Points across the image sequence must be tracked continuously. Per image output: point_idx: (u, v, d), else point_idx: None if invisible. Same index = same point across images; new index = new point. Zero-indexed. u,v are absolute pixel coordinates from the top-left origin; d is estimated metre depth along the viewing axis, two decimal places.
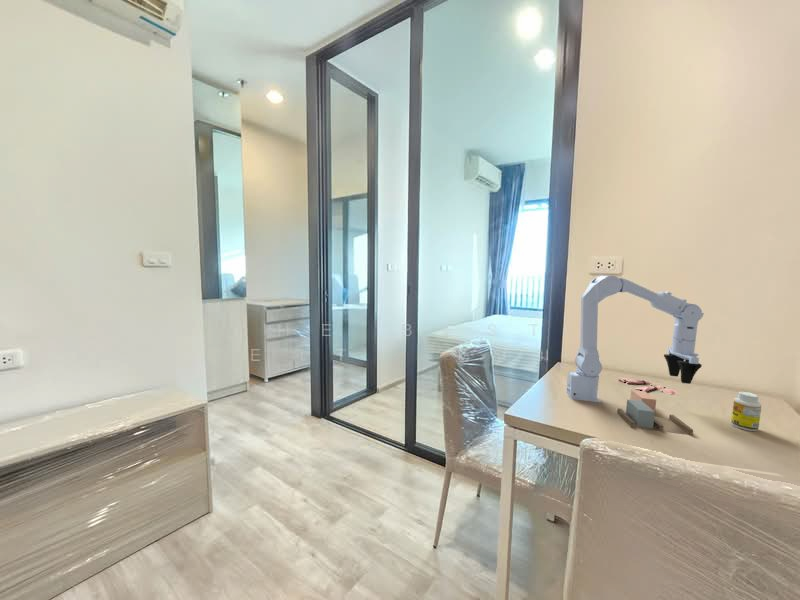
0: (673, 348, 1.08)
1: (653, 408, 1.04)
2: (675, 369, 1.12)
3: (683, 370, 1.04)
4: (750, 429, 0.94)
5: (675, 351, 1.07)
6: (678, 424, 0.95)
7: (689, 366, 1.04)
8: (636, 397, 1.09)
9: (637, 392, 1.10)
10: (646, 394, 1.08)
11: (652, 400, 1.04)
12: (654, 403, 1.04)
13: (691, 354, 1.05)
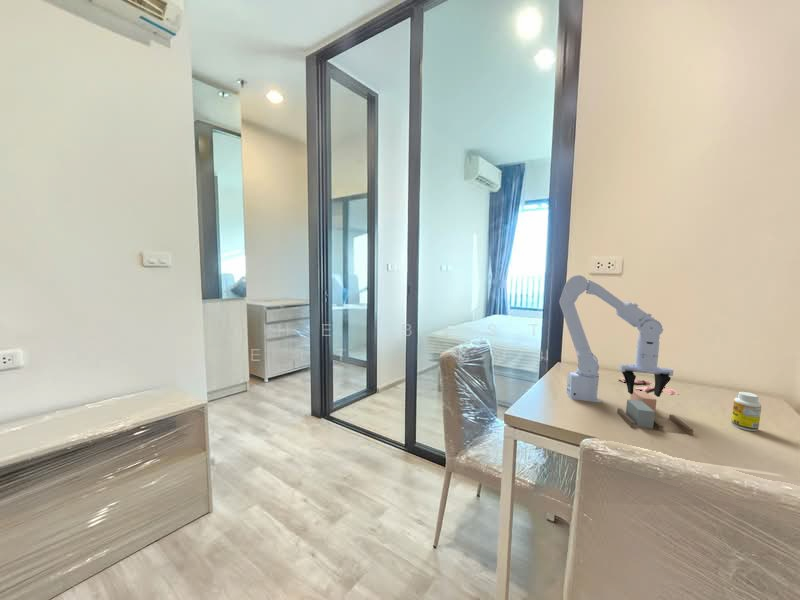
0: None
1: (653, 408, 1.04)
2: (657, 389, 1.07)
3: (625, 378, 1.11)
4: (750, 429, 0.94)
5: None
6: (678, 424, 0.95)
7: None
8: (636, 397, 1.09)
9: (637, 392, 1.10)
10: (646, 394, 1.08)
11: (652, 400, 1.04)
12: (654, 403, 1.04)
13: (638, 367, 1.07)
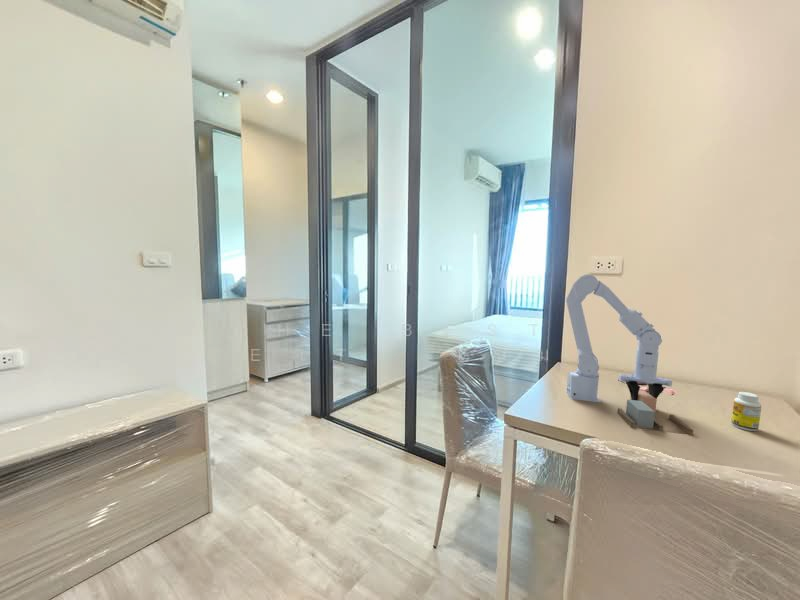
0: None
1: (653, 408, 1.04)
2: None
3: None
4: (750, 429, 0.94)
5: None
6: (678, 424, 0.95)
7: None
8: None
9: None
10: (646, 394, 1.08)
11: (652, 400, 1.04)
12: (654, 403, 1.04)
13: (637, 377, 1.07)
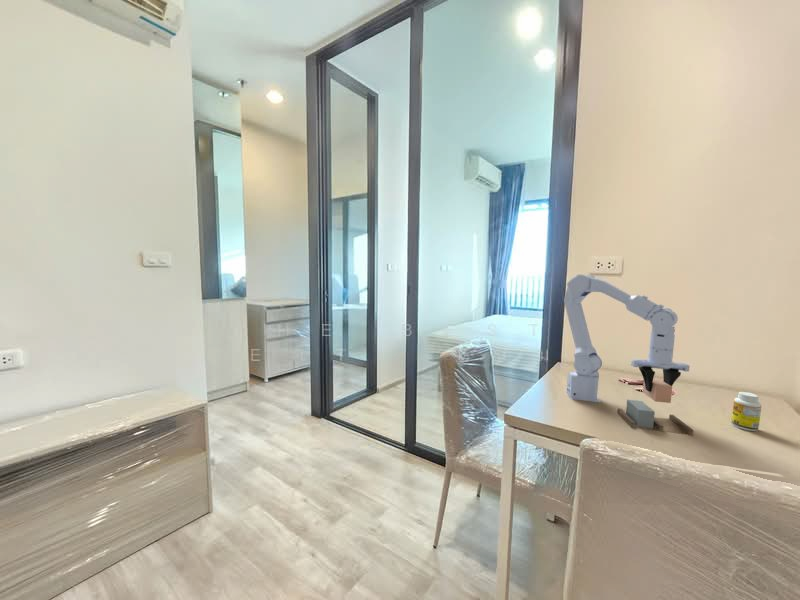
0: None
1: (669, 396, 0.97)
2: None
3: (642, 374, 1.03)
4: (750, 429, 0.94)
5: None
6: (678, 424, 0.95)
7: None
8: None
9: None
10: (660, 381, 1.01)
11: (668, 387, 0.97)
12: (670, 390, 0.97)
13: (651, 362, 1.00)
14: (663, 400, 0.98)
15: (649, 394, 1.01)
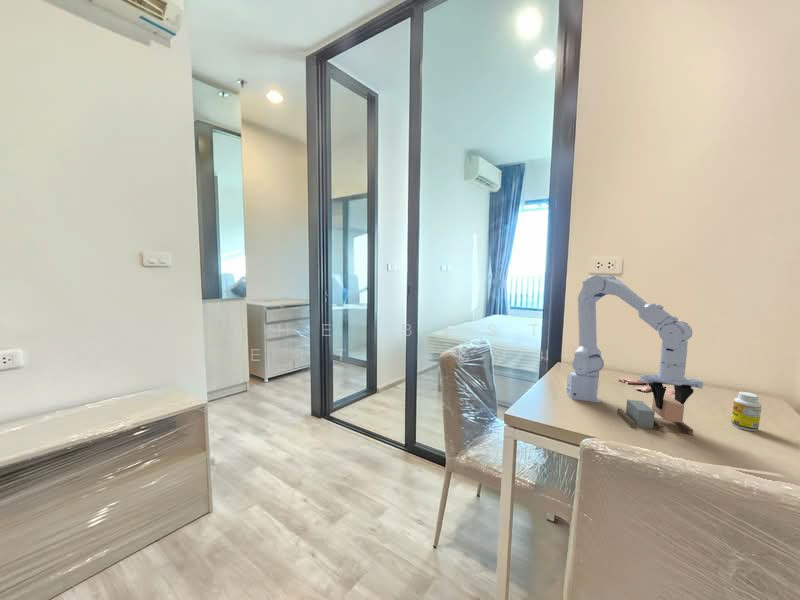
0: None
1: (680, 415, 0.92)
2: None
3: (652, 391, 0.98)
4: (750, 429, 0.94)
5: None
6: (678, 424, 0.95)
7: None
8: None
9: None
10: (671, 399, 0.96)
11: (679, 406, 0.92)
12: (682, 409, 0.91)
13: (662, 378, 0.94)
14: (674, 419, 0.92)
15: (659, 413, 0.96)
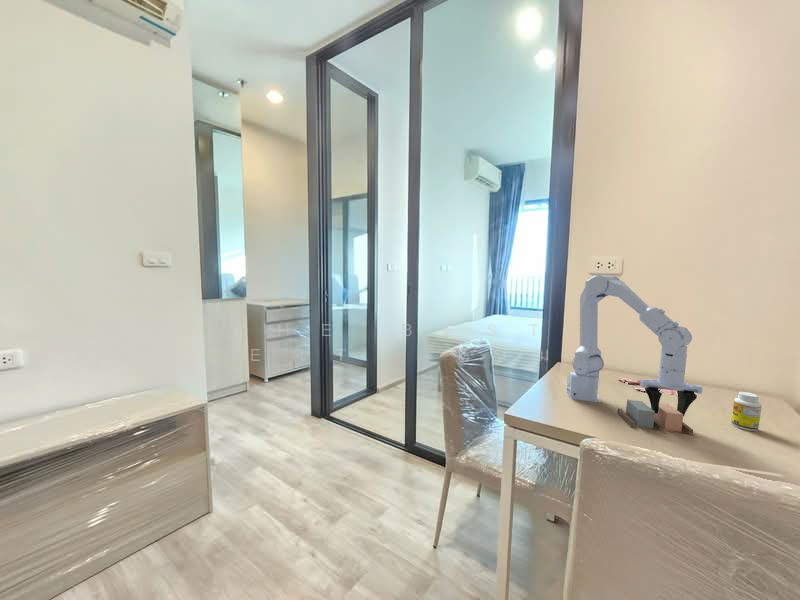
0: None
1: (680, 424, 0.92)
2: (680, 407, 0.94)
3: (648, 395, 0.98)
4: (750, 429, 0.94)
5: None
6: None
7: None
8: (659, 411, 0.96)
9: (660, 405, 0.97)
10: (670, 408, 0.96)
11: (678, 415, 0.92)
12: (681, 418, 0.92)
13: (662, 383, 0.94)
14: (673, 428, 0.92)
15: (659, 421, 0.96)
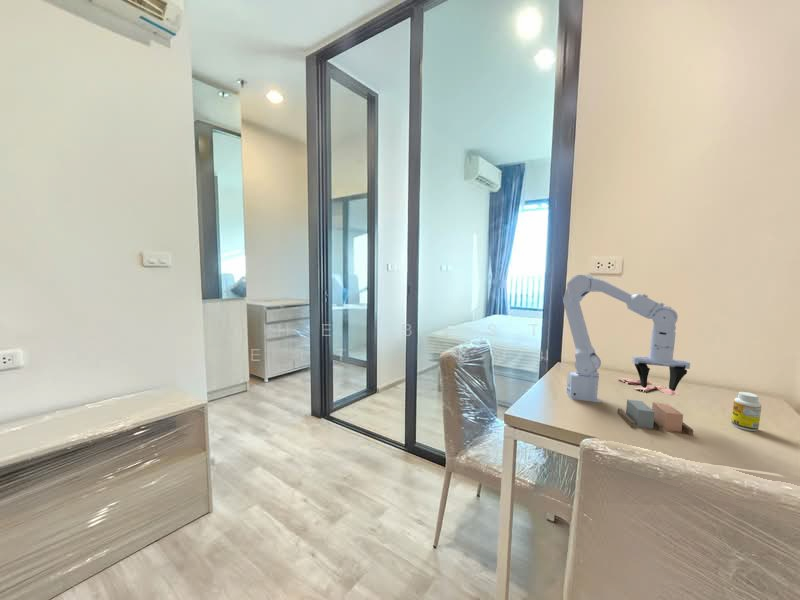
0: None
1: (680, 424, 0.92)
2: (672, 382, 1.01)
3: None
4: (750, 429, 0.94)
5: None
6: None
7: None
8: (659, 411, 0.96)
9: (660, 405, 0.97)
10: (670, 408, 0.96)
11: (678, 415, 0.92)
12: (681, 418, 0.92)
13: (652, 359, 1.01)
14: (673, 428, 0.92)
15: (659, 421, 0.96)
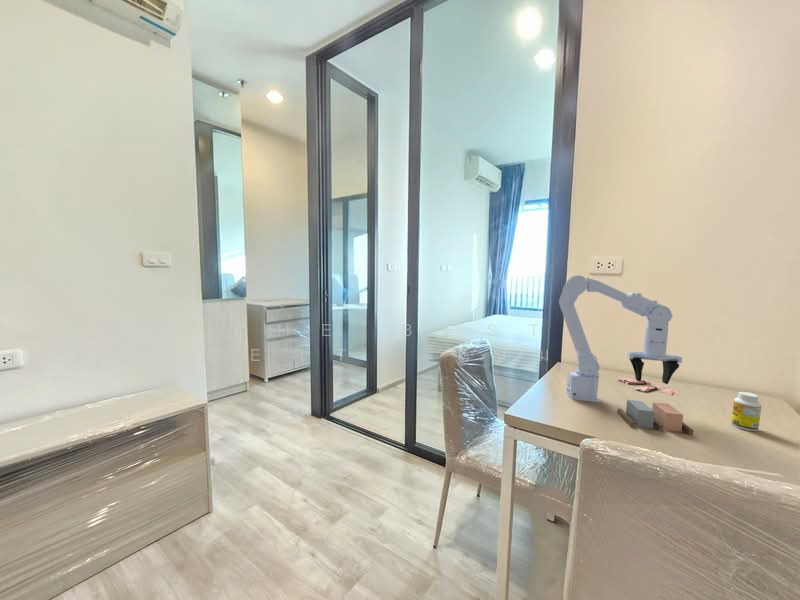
0: None
1: (680, 424, 0.92)
2: (665, 376, 1.06)
3: (632, 365, 1.10)
4: (750, 429, 0.94)
5: None
6: None
7: None
8: (659, 411, 0.96)
9: (660, 405, 0.97)
10: (670, 408, 0.96)
11: (678, 415, 0.92)
12: (681, 418, 0.92)
13: (646, 354, 1.06)
14: (673, 428, 0.92)
15: (659, 421, 0.96)
